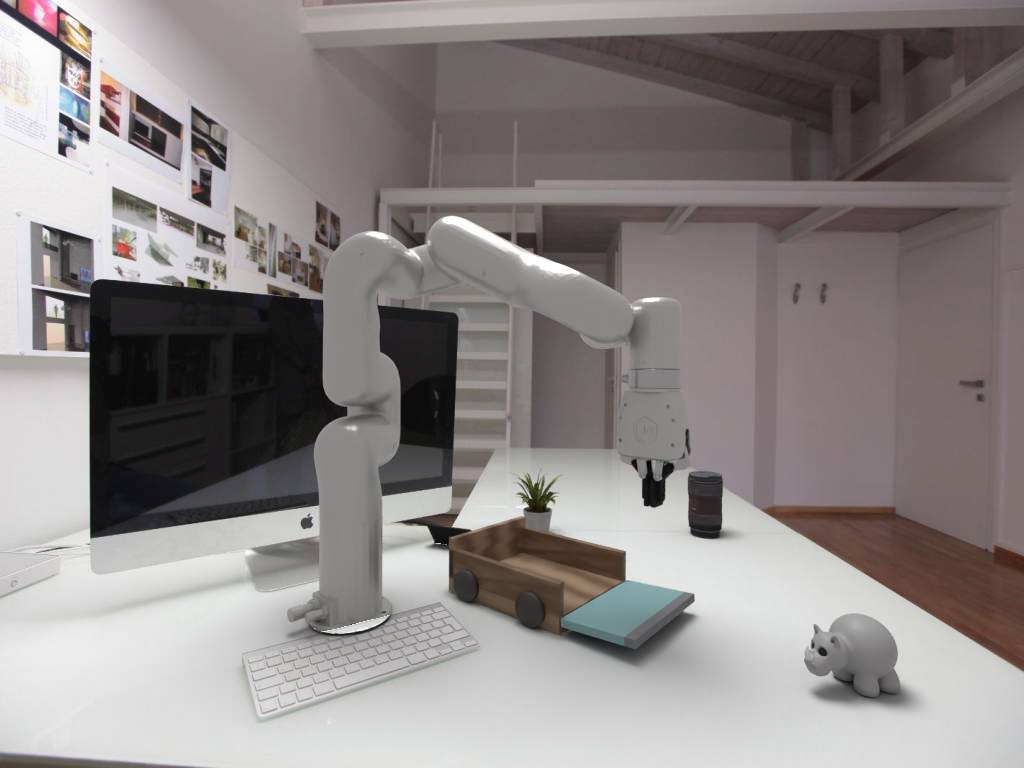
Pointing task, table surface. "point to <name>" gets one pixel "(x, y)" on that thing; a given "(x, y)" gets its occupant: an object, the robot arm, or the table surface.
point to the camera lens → (705, 503)
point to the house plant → (537, 503)
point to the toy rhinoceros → (856, 654)
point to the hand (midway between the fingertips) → (653, 505)
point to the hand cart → (531, 572)
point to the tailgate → (628, 613)
